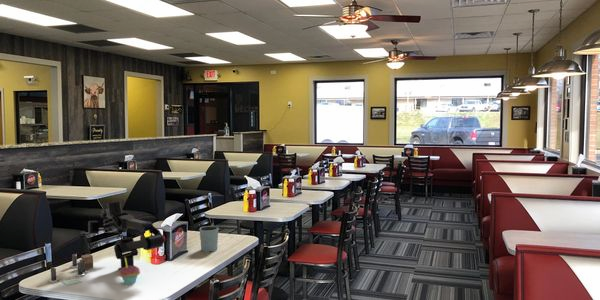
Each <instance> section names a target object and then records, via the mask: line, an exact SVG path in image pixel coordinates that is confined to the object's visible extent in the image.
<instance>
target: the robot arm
mask: <svg viewBox="0 0 600 300" xmlns="http://www.w3.org/2000/svg"><path fill="white" fill-rule="evenodd" d="M99 215H100V217H101V218H103V220H102V223H103V225H99V223H100V222H99V221H98V220H89V221H88V222H87V230H88V231H87V232H88V235H97V234H99V232H100V231H101V232H102V231H104V233H116V234H121V233H122V234H123V233H127V231H128V229H133V230H135V231H139V233H140V236H139V239H138V240H134V237H128V238H124V239H120V240H116V243H115V245H114V246H113V249H114V253H115V258H116V259H117V260H120V267H118V270H119V271H120V270H121V269H122V268H124V267H125V266H126V264H125V258H126V260H127V265H128V266H132V265H134V261H135V260H134V256H138V255H139V251H138V250H139V249H143V250H145V251H150V250H155V249H158V248H162V247H164V243H165V239H164V236H163V234H162V233H161V230H159V229H158V228H156V227H155V226H154V224H153V223H152V222H151V221H145V220H140V219H137V218H134V217H135V216H134V215H131V214H130V213H129V212H128V211H122V205H121V201H117V202H116V201H115V202H109V203H107V208H106V209H101V211H100V213H99ZM145 232H150V233H151V234H152V235H149V236H148V235H147V236H146V235H145ZM134 266H135V265H134Z"/></svg>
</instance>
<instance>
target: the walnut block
mask: <svg viewBox="0 0 600 300" xmlns="http://www.w3.org/2000/svg"><path fill="white" fill-rule="evenodd" d="M80 258H81V259H80V260H83V259H84V260H85V270H91V269H94V255H92V254H91V253H88V254H82V255H81V257H80Z"/></svg>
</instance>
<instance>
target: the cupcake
mask: <svg viewBox="0 0 600 300" xmlns="http://www.w3.org/2000/svg"><path fill="white" fill-rule="evenodd" d="M125 264H126V266H125V267H124V268H122V269H121V270H119V274H118V276H119V277H121V278H122V281H123V283H124V284H125V285H132V283H133V284H135V283H136V282H137V279H138V276H139V275H140V273H141V270H140V268H139V266H136V265H132V266H128V265H127V260H126V258H125Z"/></svg>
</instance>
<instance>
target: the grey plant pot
mask: <svg viewBox="0 0 600 300" xmlns="http://www.w3.org/2000/svg"><path fill="white" fill-rule="evenodd" d="M199 238H200V239H199V240H200V249H201V250H202V251H201V250H200V251H201V252H203V251H204V253H211V252H210V251H213V252H216V251H217V250H218V242H219V241H218V239H219V226H216V225H206V226H201V227H200V228H199ZM215 250H216V251H215Z"/></svg>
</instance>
